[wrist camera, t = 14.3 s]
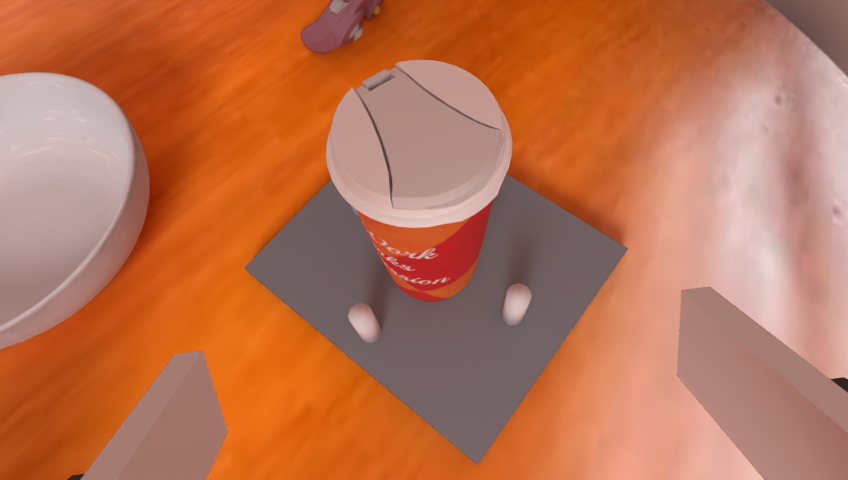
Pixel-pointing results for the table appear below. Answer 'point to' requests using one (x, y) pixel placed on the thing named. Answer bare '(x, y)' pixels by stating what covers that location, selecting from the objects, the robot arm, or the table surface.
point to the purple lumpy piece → (339, 24)
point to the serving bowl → (63, 198)
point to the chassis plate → (445, 306)
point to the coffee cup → (421, 170)
